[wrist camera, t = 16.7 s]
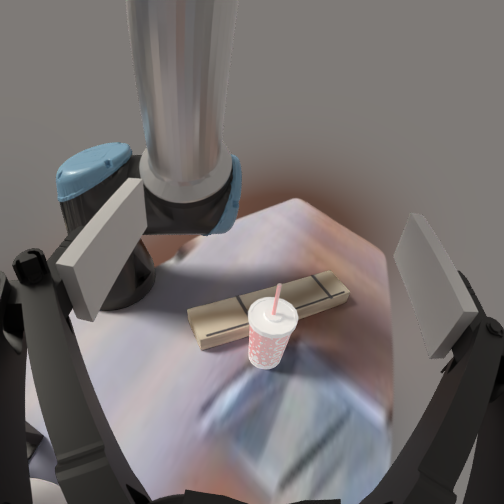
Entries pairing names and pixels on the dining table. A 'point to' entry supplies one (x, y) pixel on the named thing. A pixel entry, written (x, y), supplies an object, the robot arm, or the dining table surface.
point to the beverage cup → (270, 329)
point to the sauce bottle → (46, 492)
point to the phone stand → (32, 439)
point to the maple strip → (236, 309)
